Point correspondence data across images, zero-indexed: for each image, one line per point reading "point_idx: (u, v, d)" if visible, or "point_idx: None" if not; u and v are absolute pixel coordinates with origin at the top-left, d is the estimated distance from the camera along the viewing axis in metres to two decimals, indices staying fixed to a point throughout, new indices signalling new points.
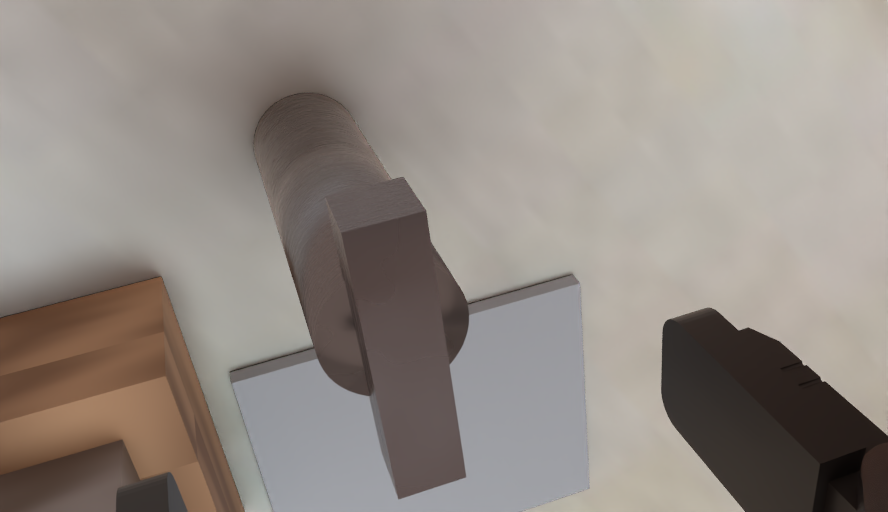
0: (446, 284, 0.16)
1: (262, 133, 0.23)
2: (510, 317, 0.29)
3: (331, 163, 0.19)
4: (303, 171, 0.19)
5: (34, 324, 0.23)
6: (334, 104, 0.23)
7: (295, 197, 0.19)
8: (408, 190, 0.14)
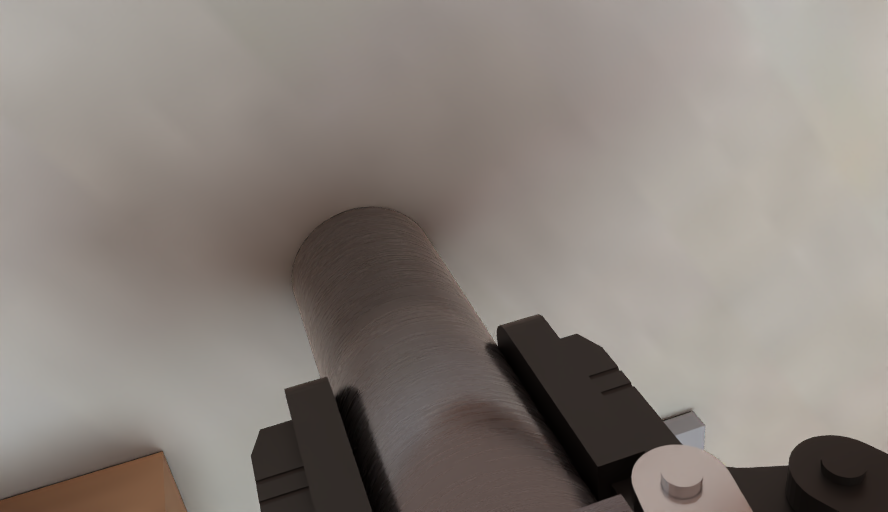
0: None
1: (307, 270, 0.16)
2: None
3: (427, 356, 0.12)
4: (385, 369, 0.13)
5: None
6: (407, 225, 0.17)
7: (376, 419, 0.12)
8: None
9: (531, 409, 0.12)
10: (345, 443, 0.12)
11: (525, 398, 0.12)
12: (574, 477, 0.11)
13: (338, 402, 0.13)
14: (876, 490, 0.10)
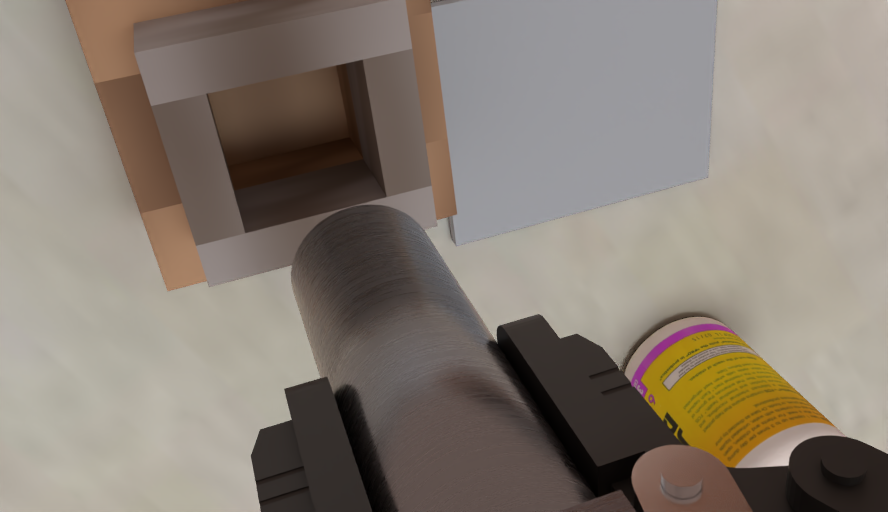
0: None
1: (306, 267, 0.16)
2: None
3: (427, 353, 0.12)
4: (385, 366, 0.13)
5: None
6: (406, 222, 0.17)
7: (376, 415, 0.12)
8: None
9: (531, 406, 0.12)
10: (345, 443, 0.12)
11: (525, 395, 0.12)
12: (574, 474, 0.11)
13: (337, 399, 0.13)
14: (876, 490, 0.10)
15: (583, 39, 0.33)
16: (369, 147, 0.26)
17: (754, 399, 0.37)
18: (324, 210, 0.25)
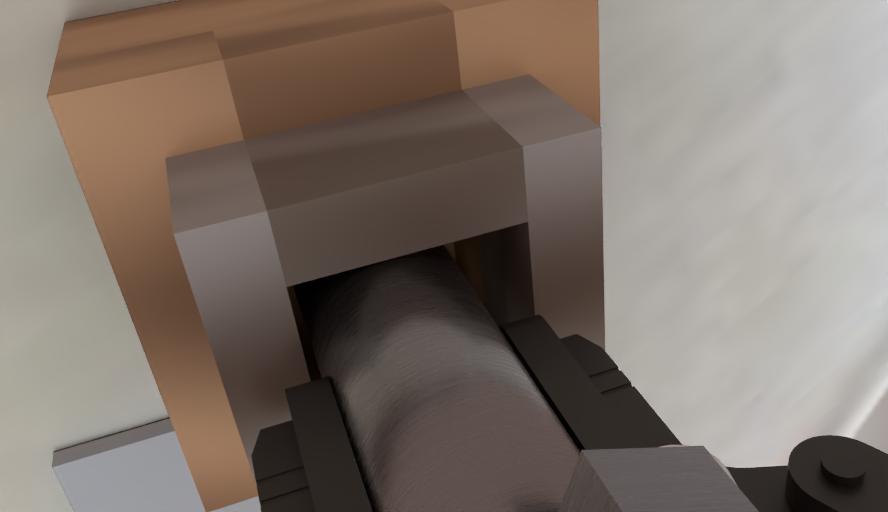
0: None
1: None
2: None
3: (454, 317, 0.13)
4: (409, 317, 0.13)
5: None
6: None
7: (396, 358, 0.12)
8: (731, 485, 0.08)
9: None
10: (345, 443, 0.12)
11: (535, 383, 0.13)
12: None
13: (342, 340, 0.13)
14: (876, 490, 0.10)
15: None
16: None
17: None
18: None
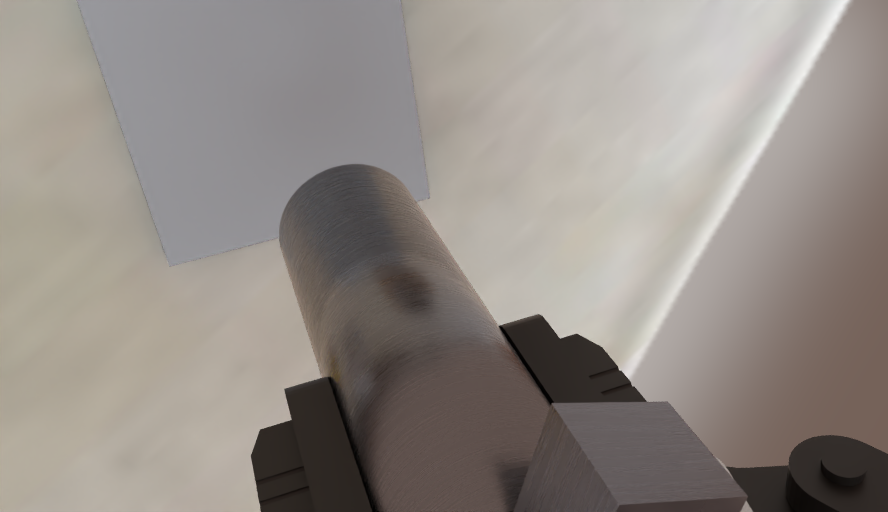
0: None
1: (310, 202, 0.16)
2: (406, 139, 0.31)
3: (440, 292, 0.13)
4: (397, 292, 0.13)
5: None
6: (410, 194, 0.17)
7: (384, 330, 0.12)
8: (691, 435, 0.08)
9: (524, 365, 0.13)
10: (345, 443, 0.12)
11: None
12: None
13: (333, 316, 0.14)
14: (876, 490, 0.10)
15: (341, 65, 0.29)
16: None
17: None
18: None
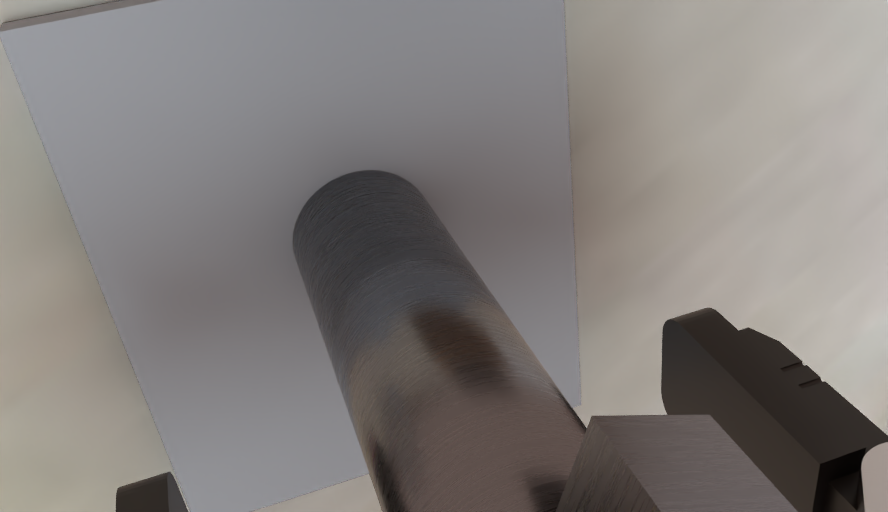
0: None
1: (325, 209, 0.16)
2: (556, 331, 0.21)
3: (462, 300, 0.13)
4: (418, 301, 0.13)
5: None
6: (426, 201, 0.17)
7: (406, 340, 0.12)
8: (737, 450, 0.08)
9: (548, 375, 0.13)
10: None
11: None
12: None
13: (353, 325, 0.13)
14: None
15: (472, 235, 0.18)
16: None
17: None
18: None
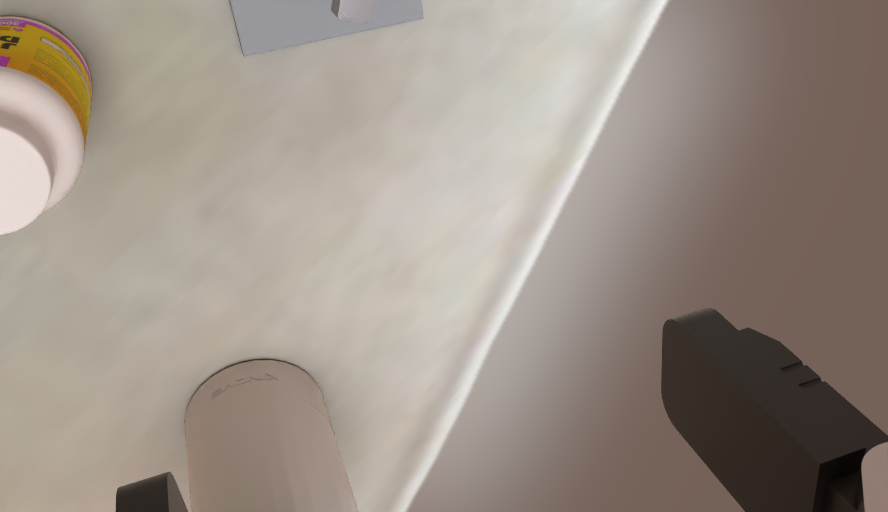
0: None
1: None
2: None
3: None
4: None
5: None
6: None
7: None
8: None
9: None
10: None
11: None
12: None
13: None
14: None
15: None
16: None
17: (80, 103, 0.37)
18: None
